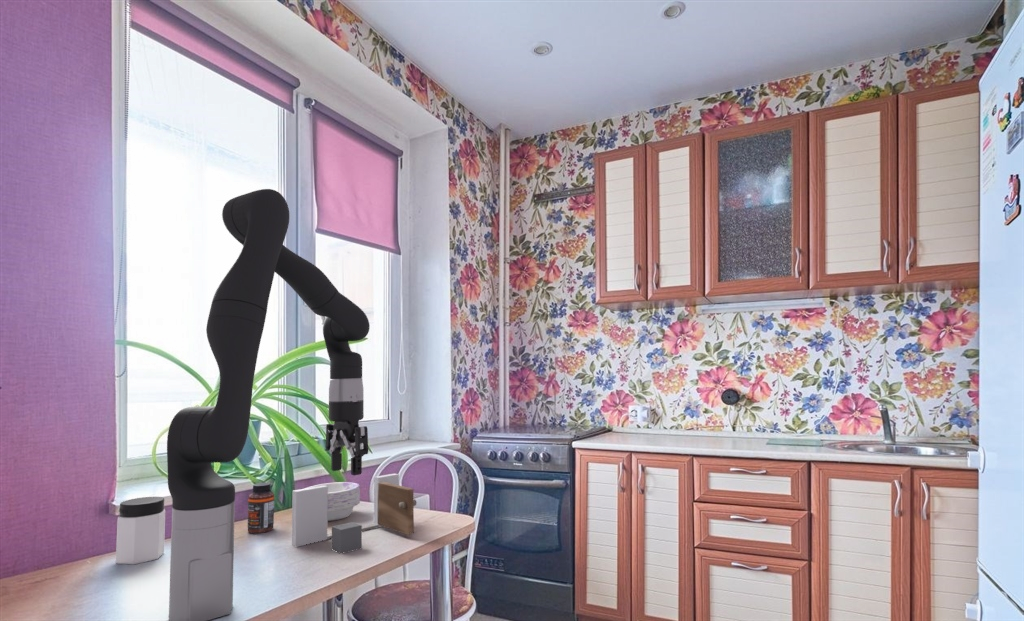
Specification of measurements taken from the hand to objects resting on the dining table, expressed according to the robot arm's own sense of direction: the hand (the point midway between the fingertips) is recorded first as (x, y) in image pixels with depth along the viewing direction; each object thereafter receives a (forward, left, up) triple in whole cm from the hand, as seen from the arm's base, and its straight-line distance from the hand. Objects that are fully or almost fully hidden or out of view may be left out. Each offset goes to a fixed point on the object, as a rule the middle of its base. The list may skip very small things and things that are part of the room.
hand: (346, 472), depth 130 cm
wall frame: (+10, -7, -16) cm, 20 cm away
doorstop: (-1, 0, -16) cm, 16 cm away
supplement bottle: (+29, +7, -17) cm, 34 cm away
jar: (+27, +33, -17) cm, 46 cm away
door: (+2, -14, -15) cm, 21 cm away
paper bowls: (+28, -11, -17) cm, 35 cm away
